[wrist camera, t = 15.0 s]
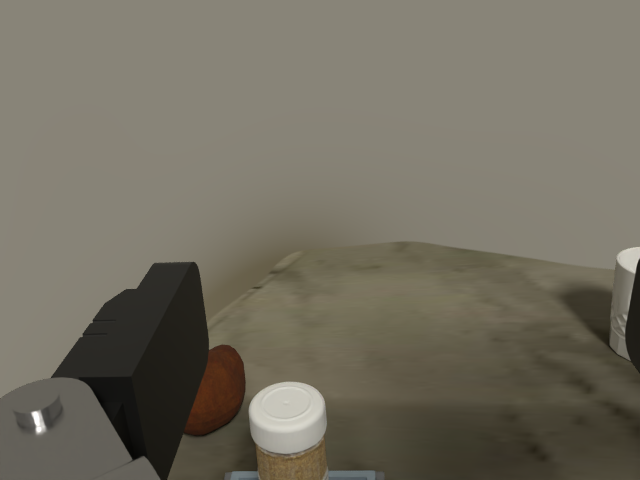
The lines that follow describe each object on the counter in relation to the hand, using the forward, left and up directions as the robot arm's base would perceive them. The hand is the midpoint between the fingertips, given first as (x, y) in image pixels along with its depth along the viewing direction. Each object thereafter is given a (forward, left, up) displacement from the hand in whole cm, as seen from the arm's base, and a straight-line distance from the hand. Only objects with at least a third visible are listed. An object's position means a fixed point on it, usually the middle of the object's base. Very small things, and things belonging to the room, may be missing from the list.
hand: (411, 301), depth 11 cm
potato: (-18, -34, -32) cm, 50 cm away
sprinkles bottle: (-11, -16, -31) cm, 37 cm away
